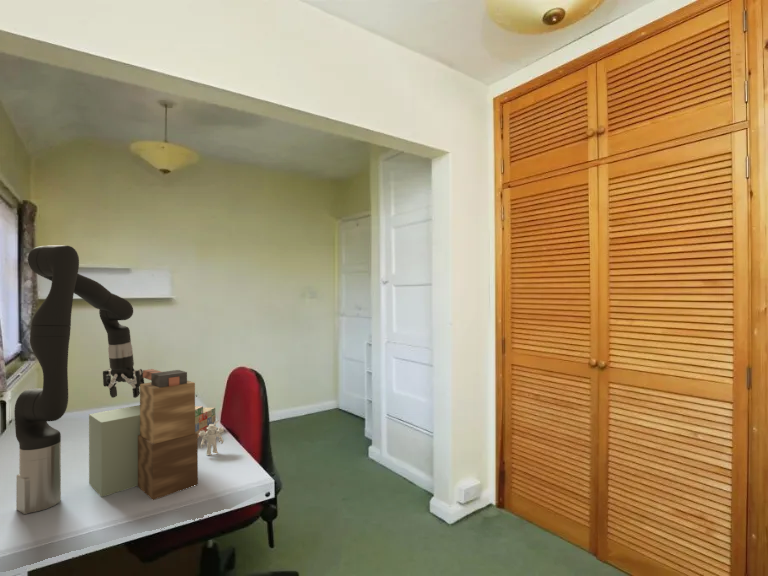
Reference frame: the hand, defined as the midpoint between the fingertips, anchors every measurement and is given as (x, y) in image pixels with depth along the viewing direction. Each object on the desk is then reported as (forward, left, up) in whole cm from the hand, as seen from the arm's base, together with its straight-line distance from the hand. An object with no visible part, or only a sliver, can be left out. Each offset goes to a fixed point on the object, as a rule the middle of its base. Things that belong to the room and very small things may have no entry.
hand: (125, 396), depth 157 cm
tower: (-6, -37, -22) cm, 44 cm away
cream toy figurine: (+18, -25, -23) cm, 39 cm away
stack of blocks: (+29, +1, -23) cm, 37 cm away
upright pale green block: (-7, -22, -22) cm, 32 cm away
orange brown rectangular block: (-4, -31, +10) cm, 33 cm away
